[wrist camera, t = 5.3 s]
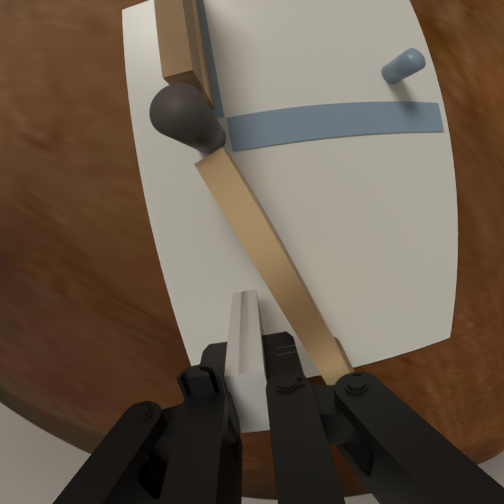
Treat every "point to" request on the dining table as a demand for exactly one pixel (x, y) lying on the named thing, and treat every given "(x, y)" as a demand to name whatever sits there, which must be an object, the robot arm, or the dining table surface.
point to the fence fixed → (184, 80)
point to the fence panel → (273, 263)
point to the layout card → (309, 171)
